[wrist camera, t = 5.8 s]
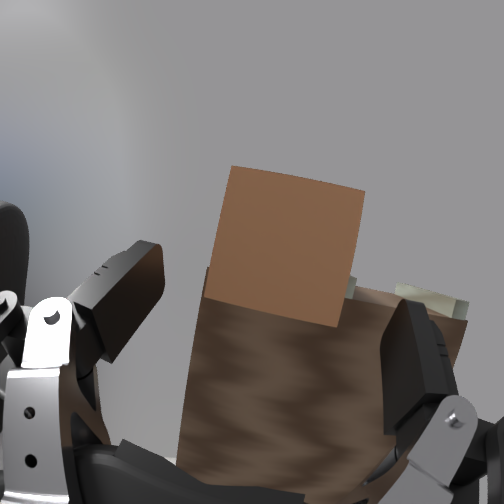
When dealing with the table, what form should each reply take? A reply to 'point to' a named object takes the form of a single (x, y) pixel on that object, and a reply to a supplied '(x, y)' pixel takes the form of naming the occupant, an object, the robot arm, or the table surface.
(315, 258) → the tan wooden block
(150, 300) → the robot arm
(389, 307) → the stand
